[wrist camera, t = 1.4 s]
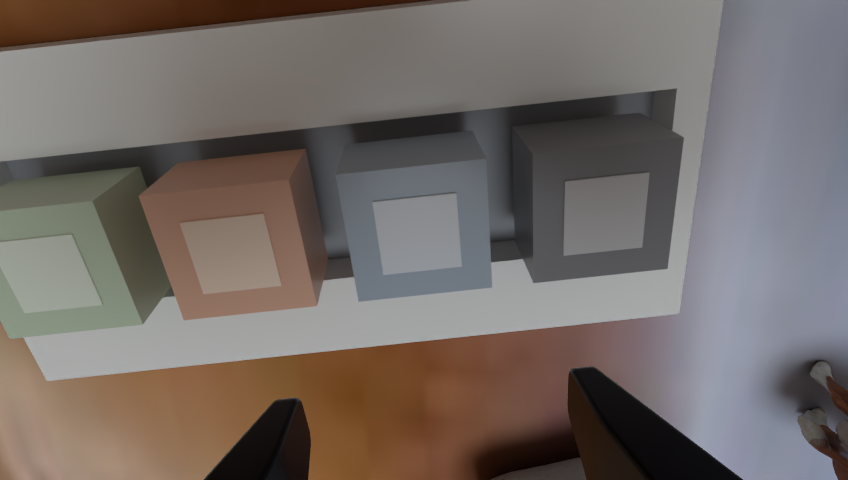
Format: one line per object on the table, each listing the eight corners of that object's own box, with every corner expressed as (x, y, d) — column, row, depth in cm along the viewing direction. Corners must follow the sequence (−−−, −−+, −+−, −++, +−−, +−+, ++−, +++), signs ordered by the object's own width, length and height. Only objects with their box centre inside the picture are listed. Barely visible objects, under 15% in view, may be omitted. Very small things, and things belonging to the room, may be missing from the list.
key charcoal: (639, 112, 17) (685, 137, 15) (629, 228, 19) (668, 269, 16) (511, 126, 17) (533, 154, 15) (514, 240, 19) (533, 284, 16)
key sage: (139, 166, 17) (91, 202, 15) (178, 276, 19) (141, 326, 16) (12, 180, 17) (-60, 218, 15) (63, 288, 19) (8, 340, 17)
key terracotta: (305, 148, 17) (288, 180, 15) (328, 260, 19) (316, 307, 16) (178, 162, 17) (137, 196, 15) (213, 272, 19) (182, 321, 16)
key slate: (472, 130, 17) (486, 159, 15) (479, 244, 19) (492, 288, 16) (345, 144, 17) (335, 175, 15) (364, 256, 19) (358, 302, 16)
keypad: (684, -28, 18) (727, -28, 15) (650, 279, 23) (679, 314, 21) (-56, 53, 18) (-124, 65, 15) (82, 340, 23) (46, 381, 21)
